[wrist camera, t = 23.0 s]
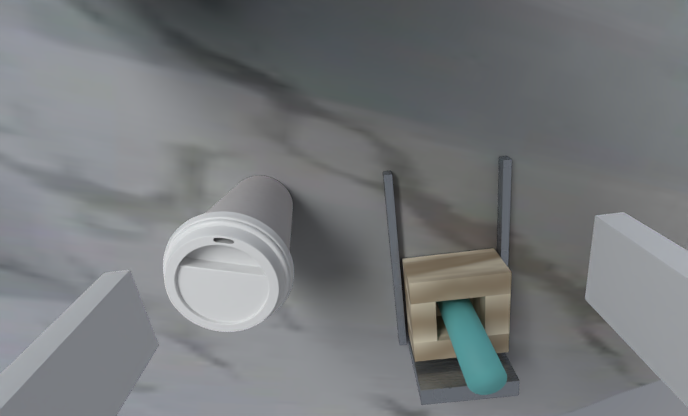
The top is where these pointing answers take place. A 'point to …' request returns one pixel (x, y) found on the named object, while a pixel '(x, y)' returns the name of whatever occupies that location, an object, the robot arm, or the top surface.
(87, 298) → the robot arm
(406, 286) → the block
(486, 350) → the dowel
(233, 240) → the coffee cup
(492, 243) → the top surface
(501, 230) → the backstop
